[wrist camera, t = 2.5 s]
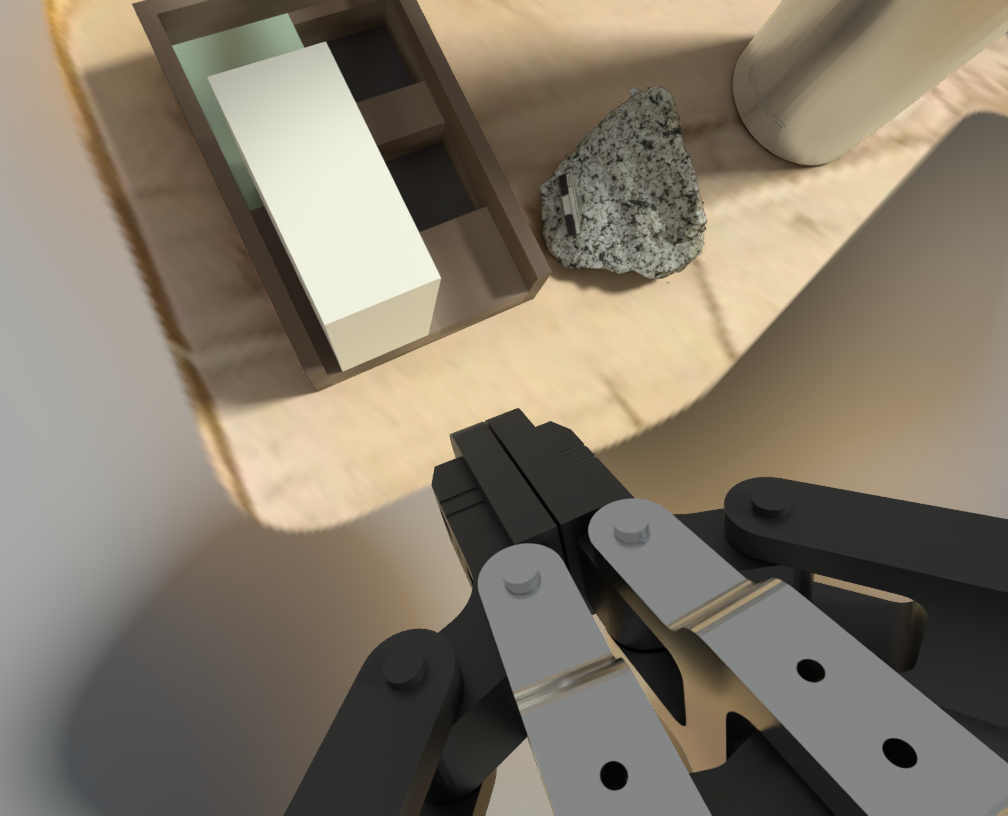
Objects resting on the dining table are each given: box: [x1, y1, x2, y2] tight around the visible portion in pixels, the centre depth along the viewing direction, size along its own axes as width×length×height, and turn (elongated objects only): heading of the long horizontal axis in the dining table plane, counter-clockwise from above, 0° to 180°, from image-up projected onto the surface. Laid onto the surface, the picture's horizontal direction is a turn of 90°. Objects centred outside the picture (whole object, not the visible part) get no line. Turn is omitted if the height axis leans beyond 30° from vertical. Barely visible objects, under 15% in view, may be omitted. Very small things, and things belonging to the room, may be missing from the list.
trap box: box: [132, 0, 552, 392], centre depth 31 cm, size 12×19×4 cm, turn 26°
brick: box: [207, 42, 441, 372], centre depth 26 cm, size 4×10×8 cm, turn 26°
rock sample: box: [540, 86, 707, 283], centre depth 33 cm, size 10×8×9 cm
